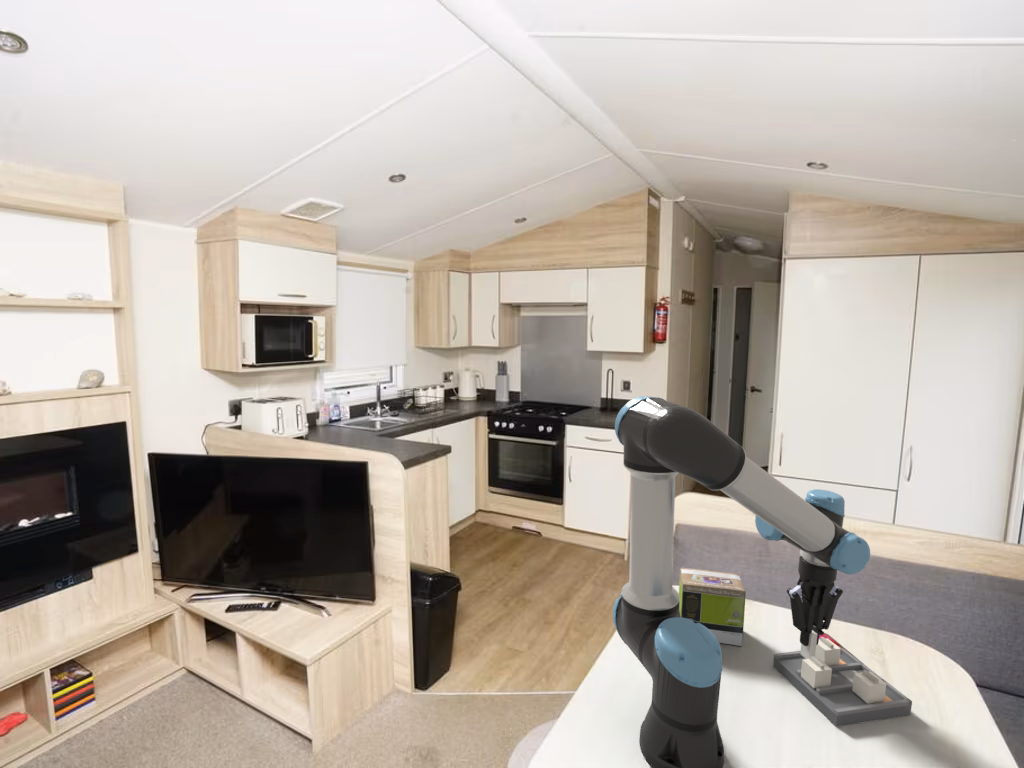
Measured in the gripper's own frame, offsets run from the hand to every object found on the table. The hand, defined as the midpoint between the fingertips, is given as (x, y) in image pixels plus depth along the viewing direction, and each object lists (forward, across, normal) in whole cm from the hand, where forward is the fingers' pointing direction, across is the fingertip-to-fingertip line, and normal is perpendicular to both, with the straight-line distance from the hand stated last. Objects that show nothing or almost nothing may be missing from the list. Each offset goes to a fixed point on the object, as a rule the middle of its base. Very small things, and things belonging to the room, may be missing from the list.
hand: (807, 657), depth 126 cm
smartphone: (+5, +13, +5) cm, 14 cm away
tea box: (+4, -13, +19) cm, 24 cm away
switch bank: (+4, +3, -6) cm, 8 cm away
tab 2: (+2, -3, -6) cm, 7 cm away
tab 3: (+2, +5, -12) cm, 13 cm away
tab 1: (+2, +5, 0) cm, 5 cm away
